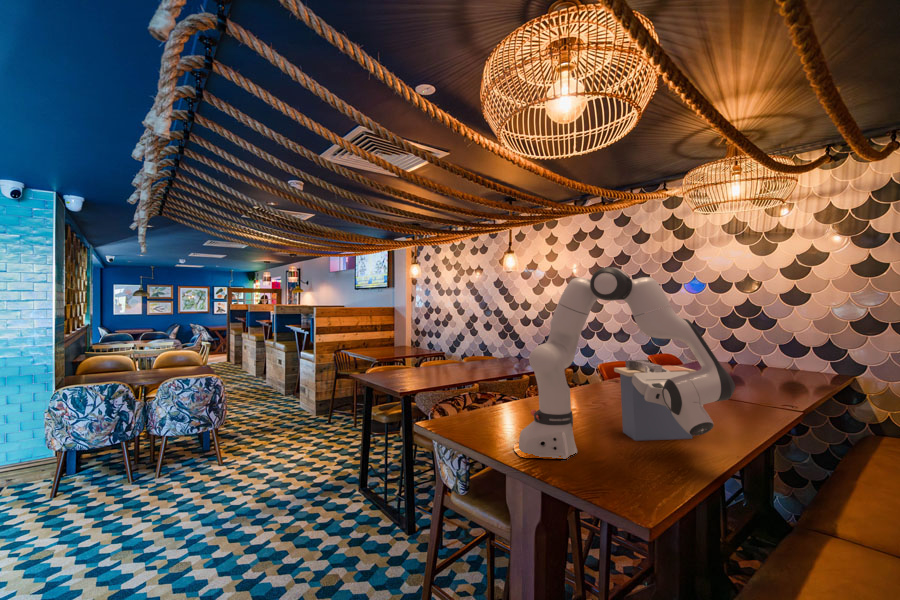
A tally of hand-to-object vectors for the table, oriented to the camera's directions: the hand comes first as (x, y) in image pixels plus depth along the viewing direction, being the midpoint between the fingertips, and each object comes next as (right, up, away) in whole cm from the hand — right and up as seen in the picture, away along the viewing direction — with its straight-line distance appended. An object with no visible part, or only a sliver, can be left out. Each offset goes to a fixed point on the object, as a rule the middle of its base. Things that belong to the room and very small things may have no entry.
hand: (652, 367), depth 138 cm
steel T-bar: (0, -2, +5) cm, 5 cm away
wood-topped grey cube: (+7, -29, +10) cm, 31 cm away
